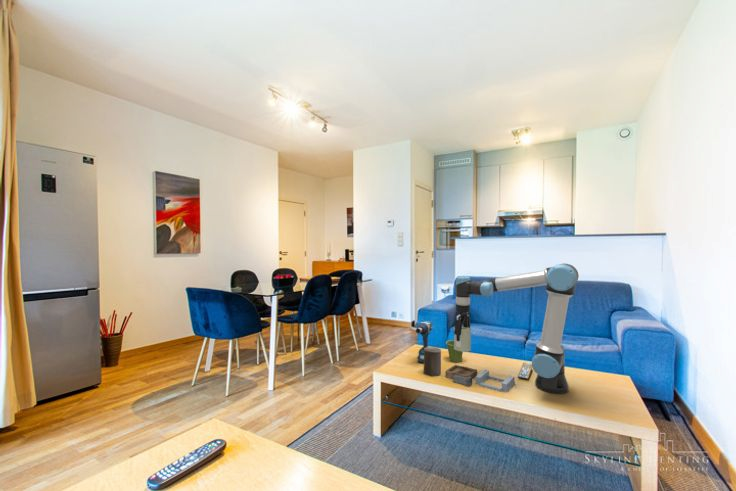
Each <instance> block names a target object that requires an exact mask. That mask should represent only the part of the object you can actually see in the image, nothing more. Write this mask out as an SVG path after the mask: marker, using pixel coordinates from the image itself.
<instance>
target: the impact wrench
mask: <svg viewBox="0 0 736 491" xmlns="http://www.w3.org/2000/svg"><path fill="white" fill-rule="evenodd" d="M433 328H434V324H433V322H432V321H431V320H425V321H421V322H420V323H418V325H417V328H415V333H417V334H418V335H419V334H420V336H422V347H421V348H420V349H419V350H418V356H417V363H422V364H424V348H426V347H429V335H430V334H431V332H432V330H433Z"/></svg>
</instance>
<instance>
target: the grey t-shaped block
mask: <svg viewBox="0 0 736 491" xmlns="http://www.w3.org/2000/svg"><path fill="white" fill-rule="evenodd" d="M452 382H454V383H457V384H461V385H464V386H467V387H470V386H471V385H472V384H473V380H472V377H470V376H469V377H464V376H460V375H456V374H455V375H454V376H453V379H452Z"/></svg>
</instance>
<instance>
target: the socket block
mask: <svg viewBox="0 0 736 491" xmlns="http://www.w3.org/2000/svg"><path fill="white" fill-rule="evenodd" d="M515 378H516V377H515V375H514V376H513V375H509V376H507V377H506V378H502V377H499V376H495V375H490V370H487V369H483V370H482V371H480V373H477V376H475V378H474V379H475V382H474V383H475V385H477V384H478V386H479V387H481V386H482V388H485V387H486V389H490V390H492V389H493V391H496V390H497V392H504V393H508V392H509V391H510V390H509V389H512V388H513V387H514V386H515V381H516V380H515ZM493 379H494V381H497V380H498V381H497V382H501V381H502V382H501V387H500V386H495V385H492V384H488V383H484V381H485V382H486V381H487V380H493ZM508 390H509V391H508Z"/></svg>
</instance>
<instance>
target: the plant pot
mask: <svg viewBox="0 0 736 491" xmlns="http://www.w3.org/2000/svg"><path fill="white" fill-rule="evenodd" d="M445 344H446V347H447V352H448V358H449V361H450V362H452V363H461V362H462V359H463V354H464V352H462V351H457V350H455V349H454V340H453V339H452V340H447V341H446V342H445Z"/></svg>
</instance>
